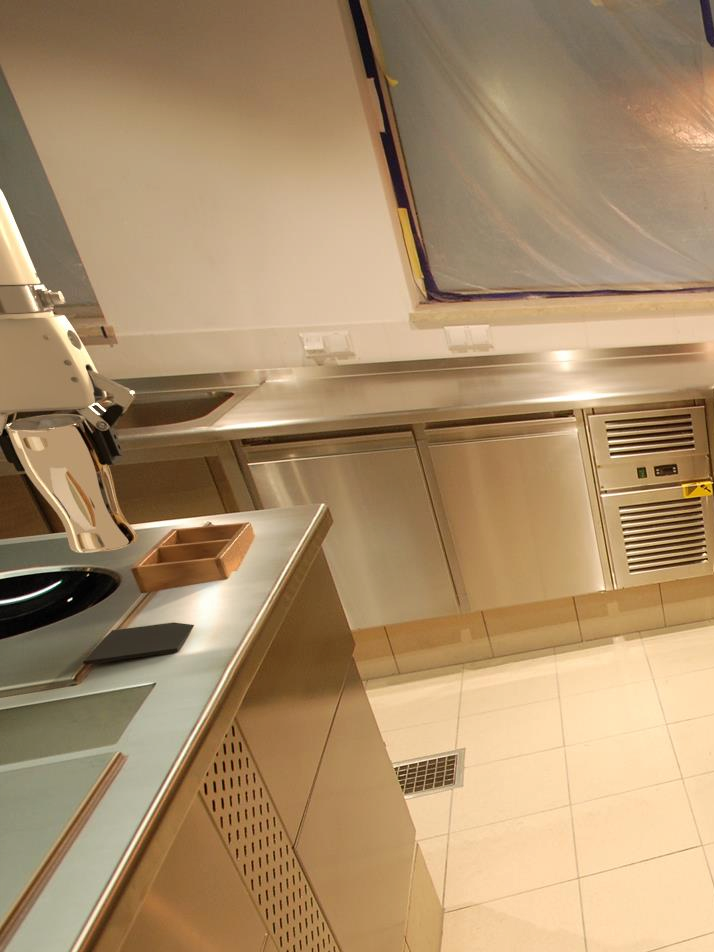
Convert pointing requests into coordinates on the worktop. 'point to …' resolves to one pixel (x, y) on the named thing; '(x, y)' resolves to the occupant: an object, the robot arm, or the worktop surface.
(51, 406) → the robot arm
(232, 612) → the worktop surface
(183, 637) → the mat
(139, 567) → the wooden divided tray
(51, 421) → the beer glass
